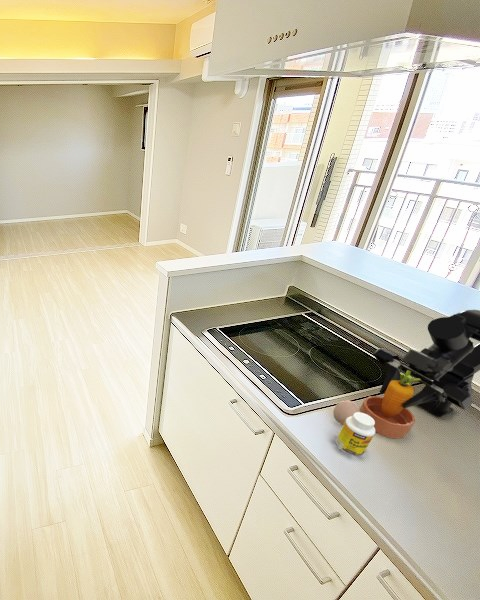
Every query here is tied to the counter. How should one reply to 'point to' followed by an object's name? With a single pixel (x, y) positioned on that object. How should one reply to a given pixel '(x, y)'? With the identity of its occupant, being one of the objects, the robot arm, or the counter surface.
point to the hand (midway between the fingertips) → (391, 400)
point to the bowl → (387, 419)
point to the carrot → (397, 394)
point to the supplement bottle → (356, 434)
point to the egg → (344, 411)
